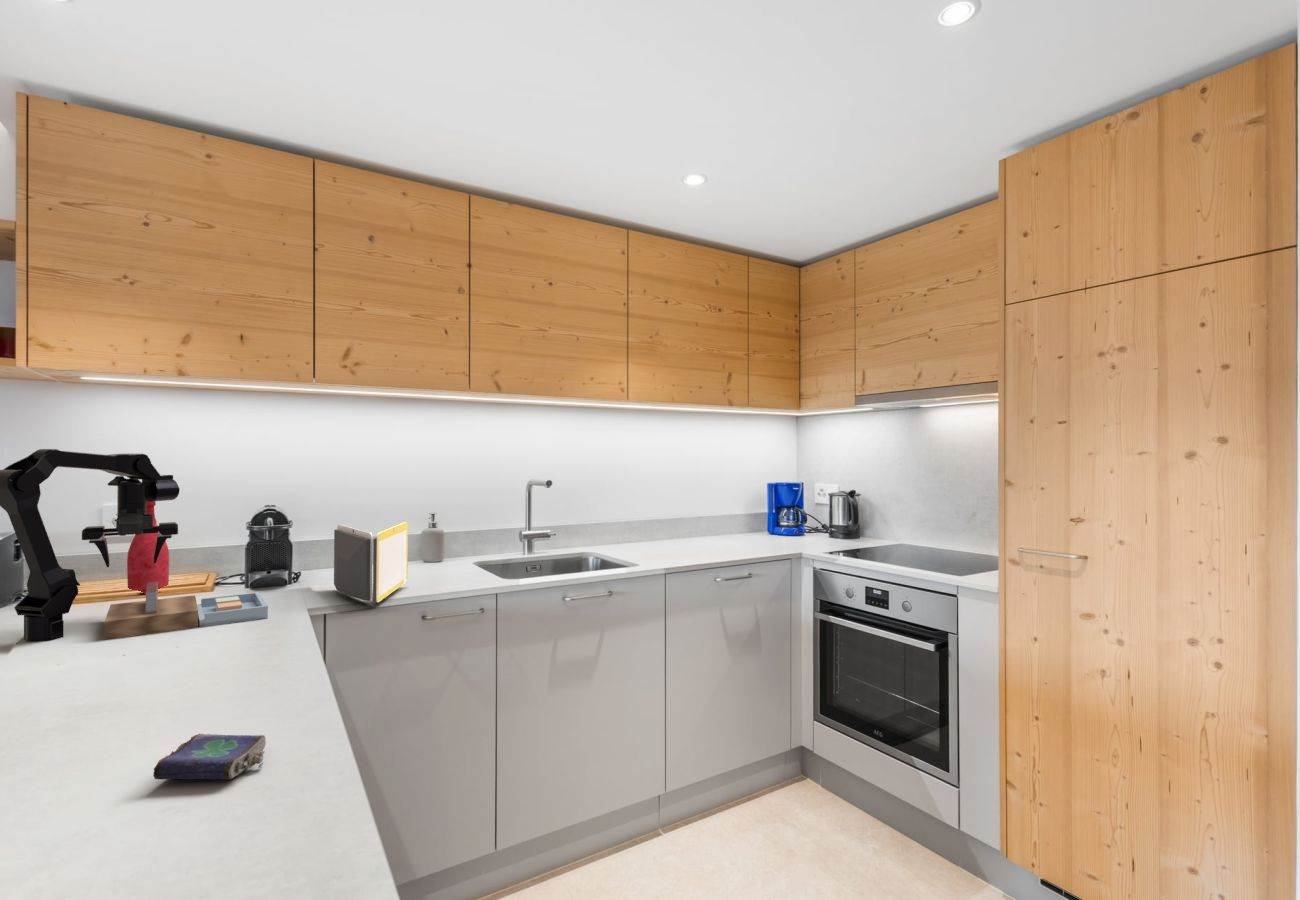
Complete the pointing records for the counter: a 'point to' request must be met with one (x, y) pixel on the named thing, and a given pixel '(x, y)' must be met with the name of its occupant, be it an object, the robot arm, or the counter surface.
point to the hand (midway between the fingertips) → (131, 565)
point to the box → (250, 610)
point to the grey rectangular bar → (151, 597)
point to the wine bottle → (147, 559)
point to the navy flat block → (212, 757)
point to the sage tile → (226, 600)
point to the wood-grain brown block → (150, 617)
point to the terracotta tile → (229, 606)
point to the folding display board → (370, 561)
